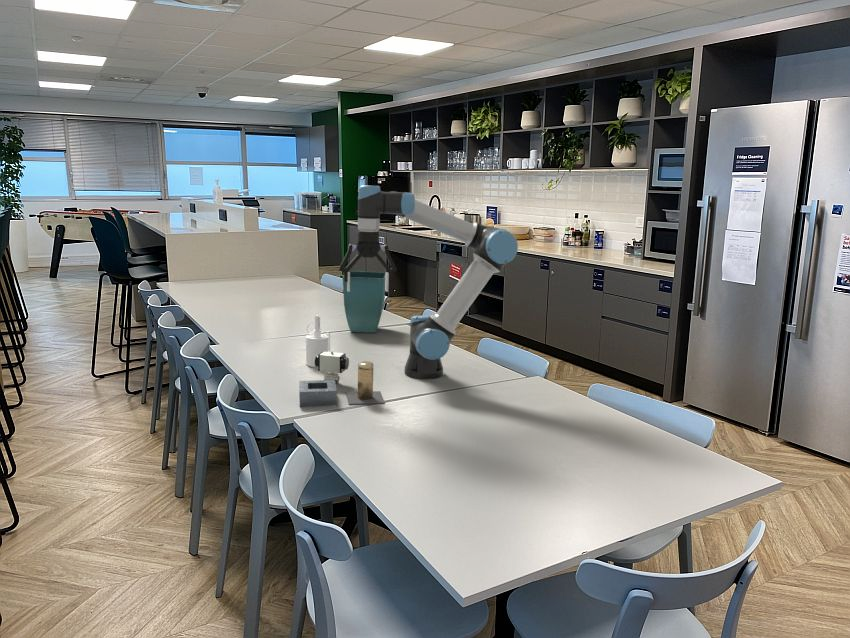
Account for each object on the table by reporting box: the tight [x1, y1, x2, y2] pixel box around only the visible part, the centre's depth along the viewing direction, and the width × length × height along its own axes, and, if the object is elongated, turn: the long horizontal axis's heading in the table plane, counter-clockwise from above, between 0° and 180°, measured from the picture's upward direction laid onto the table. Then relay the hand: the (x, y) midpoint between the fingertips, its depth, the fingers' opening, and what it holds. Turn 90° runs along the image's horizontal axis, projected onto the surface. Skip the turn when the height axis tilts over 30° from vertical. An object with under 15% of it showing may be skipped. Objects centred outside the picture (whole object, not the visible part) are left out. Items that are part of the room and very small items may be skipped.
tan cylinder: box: [357, 360, 374, 400], centre depth 215 cm, size 5×5×12 cm
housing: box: [298, 379, 338, 408], centre depth 212 cm, size 12×12×5 cm
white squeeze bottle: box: [304, 315, 331, 368], centre depth 253 cm, size 10×9×20 cm
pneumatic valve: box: [315, 350, 350, 384], centre depth 231 cm, size 6×12×12 cm, turn 78°
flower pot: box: [342, 270, 386, 334], centre depth 314 cm, size 20×20×28 cm
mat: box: [345, 390, 386, 406], centre depth 216 cm, size 12×12×1 cm
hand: (367, 291), depth 224 cm, fingers open, 13 cm apart
